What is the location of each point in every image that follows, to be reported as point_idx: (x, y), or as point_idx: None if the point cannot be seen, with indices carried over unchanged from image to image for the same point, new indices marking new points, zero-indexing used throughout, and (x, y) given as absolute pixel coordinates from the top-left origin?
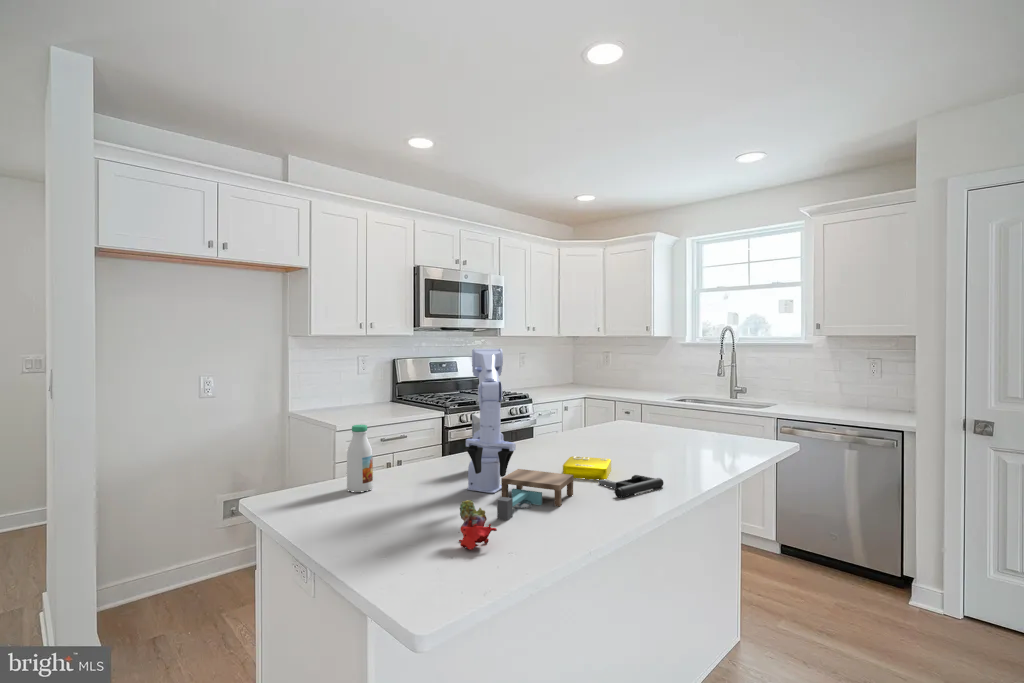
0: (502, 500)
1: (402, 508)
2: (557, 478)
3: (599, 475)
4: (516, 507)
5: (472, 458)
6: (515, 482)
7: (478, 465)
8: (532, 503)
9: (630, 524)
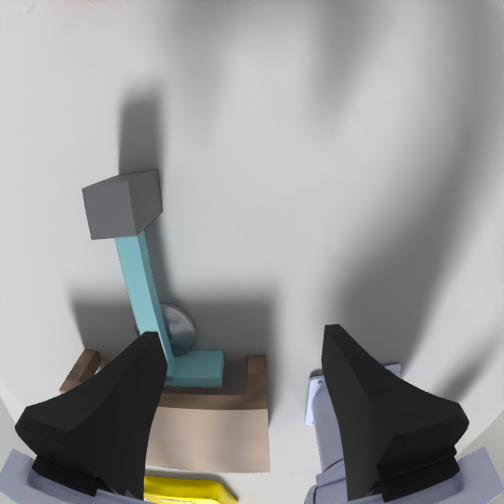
0: (105, 188)
1: (497, 135)
2: None
3: (147, 482)
4: (168, 304)
5: (391, 383)
6: (206, 402)
7: (337, 374)
8: None
9: None
